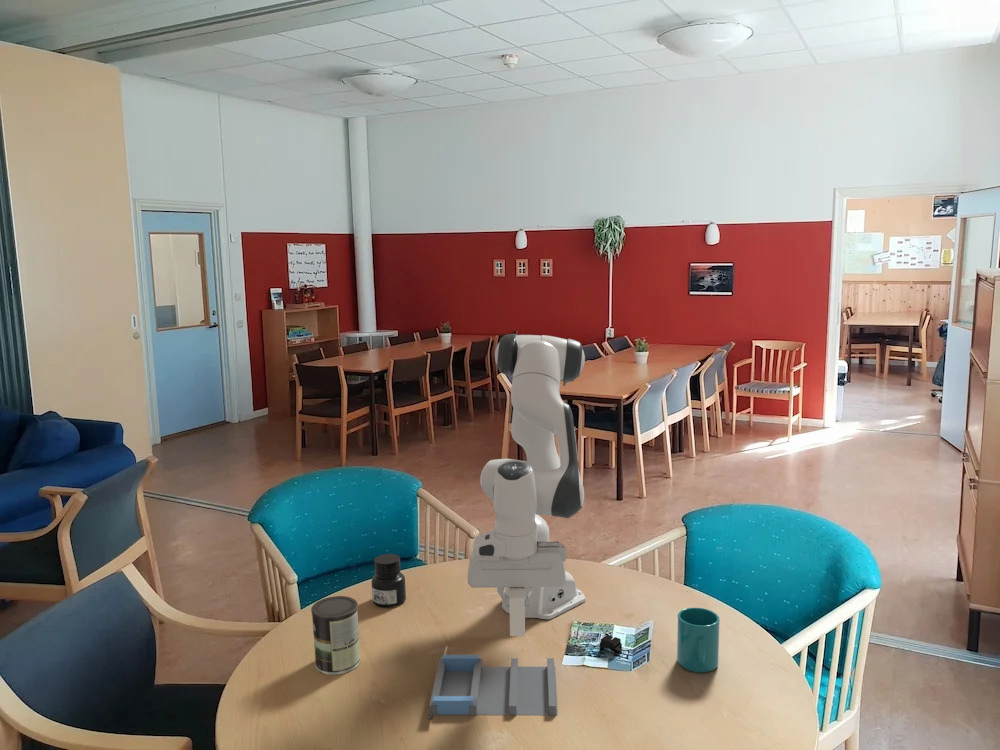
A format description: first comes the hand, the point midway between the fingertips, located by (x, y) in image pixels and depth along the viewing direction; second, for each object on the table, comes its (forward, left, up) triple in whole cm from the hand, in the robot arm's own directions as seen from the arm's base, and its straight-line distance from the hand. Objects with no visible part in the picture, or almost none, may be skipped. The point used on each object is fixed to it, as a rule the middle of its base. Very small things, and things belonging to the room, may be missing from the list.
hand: (517, 605), depth 162 cm
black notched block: (-26, -1, -21) cm, 33 cm away
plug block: (0, 0, -4) cm, 4 cm away
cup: (-39, +14, -20) cm, 46 cm away
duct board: (+4, -3, -20) cm, 21 cm away
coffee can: (+27, -34, -20) cm, 48 cm away
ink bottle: (+4, -56, -20) cm, 60 cm away
